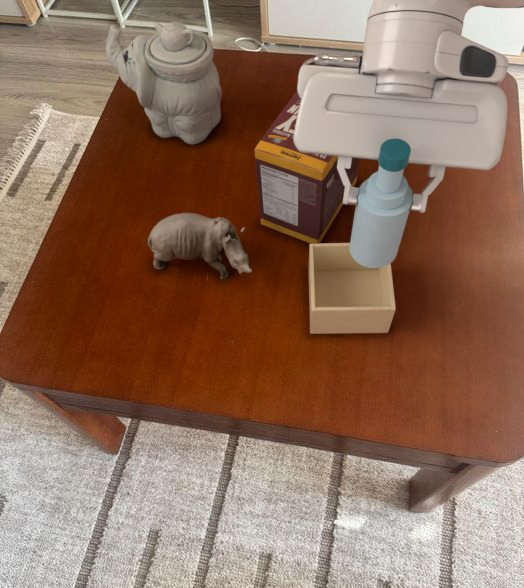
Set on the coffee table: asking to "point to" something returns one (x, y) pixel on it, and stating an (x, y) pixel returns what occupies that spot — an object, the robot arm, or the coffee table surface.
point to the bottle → (382, 208)
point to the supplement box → (297, 182)
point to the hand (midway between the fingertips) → (383, 208)
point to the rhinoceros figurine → (197, 241)
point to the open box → (347, 292)
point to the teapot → (171, 79)
